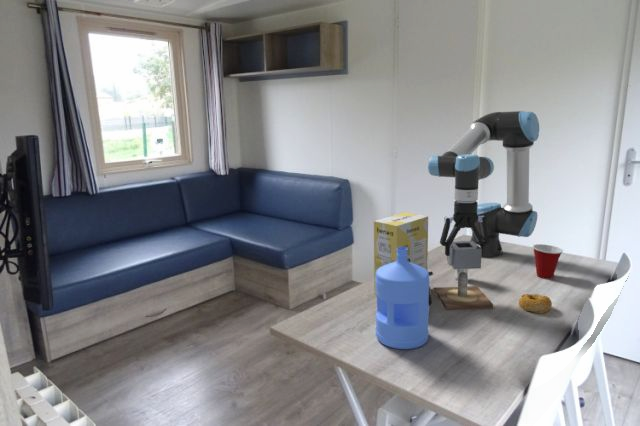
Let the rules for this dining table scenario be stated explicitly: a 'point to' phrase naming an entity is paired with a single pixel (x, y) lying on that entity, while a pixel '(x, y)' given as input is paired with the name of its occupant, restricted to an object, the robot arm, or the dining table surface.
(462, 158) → the robot arm
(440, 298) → the post stand
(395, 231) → the pasta box
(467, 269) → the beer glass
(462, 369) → the dining table surface
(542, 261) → the plastic cup
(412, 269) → the water jug
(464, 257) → the collar
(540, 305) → the bagel
